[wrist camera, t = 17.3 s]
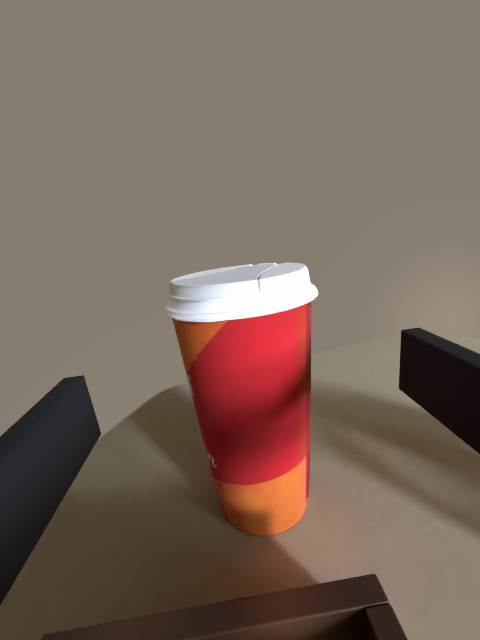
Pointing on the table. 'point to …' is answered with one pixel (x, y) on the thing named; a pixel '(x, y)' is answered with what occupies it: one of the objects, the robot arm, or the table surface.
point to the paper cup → (251, 385)
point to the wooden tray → (267, 617)
